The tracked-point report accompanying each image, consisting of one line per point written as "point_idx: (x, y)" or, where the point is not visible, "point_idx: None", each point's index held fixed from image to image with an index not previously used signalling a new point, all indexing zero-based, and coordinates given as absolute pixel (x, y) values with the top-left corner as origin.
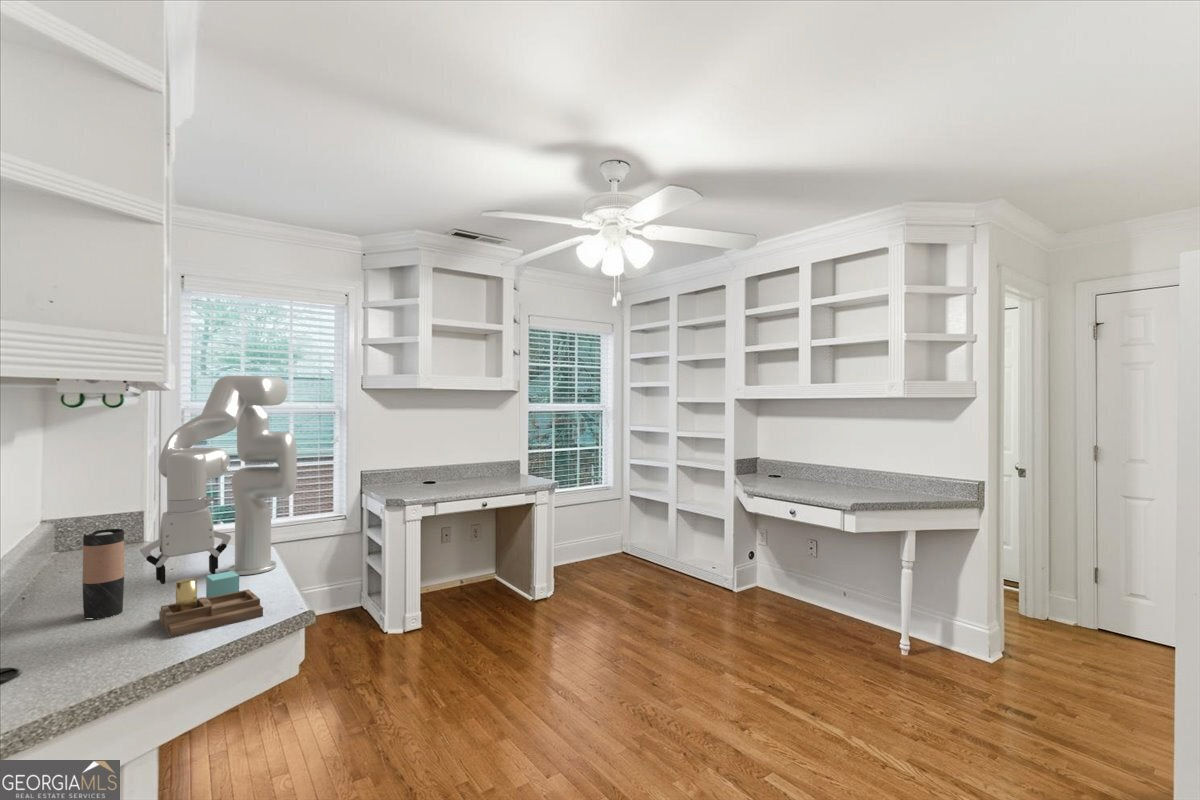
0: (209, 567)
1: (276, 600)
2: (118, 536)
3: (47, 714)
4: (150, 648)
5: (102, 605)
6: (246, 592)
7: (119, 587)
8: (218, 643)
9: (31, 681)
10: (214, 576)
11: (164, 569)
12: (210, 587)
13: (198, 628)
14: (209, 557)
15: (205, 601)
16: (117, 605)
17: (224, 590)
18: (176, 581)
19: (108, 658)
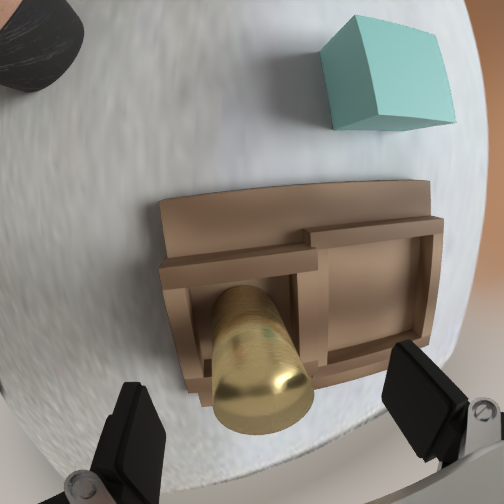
0: (403, 370)
1: (458, 240)
2: None
3: None
4: (166, 419)
5: (14, 82)
6: (432, 250)
7: (26, 34)
8: (287, 450)
9: (31, 421)
10: (384, 51)
11: (154, 497)
12: (353, 89)
13: None
14: (438, 414)
15: (313, 310)
16: (53, 60)
17: (387, 125)
18: (215, 396)
19: (101, 417)
